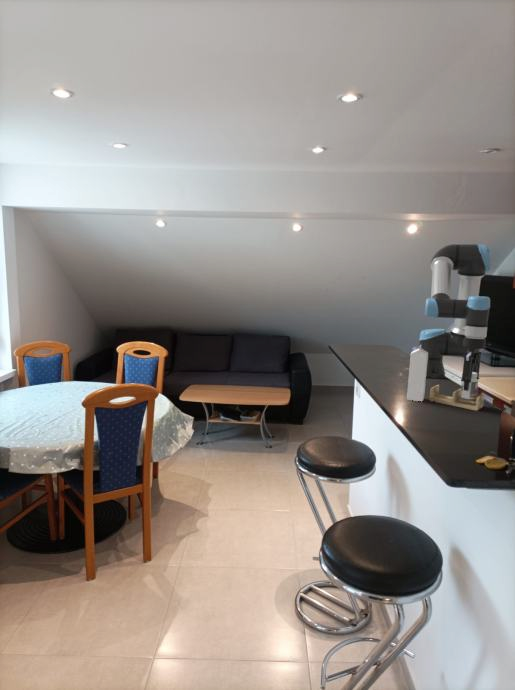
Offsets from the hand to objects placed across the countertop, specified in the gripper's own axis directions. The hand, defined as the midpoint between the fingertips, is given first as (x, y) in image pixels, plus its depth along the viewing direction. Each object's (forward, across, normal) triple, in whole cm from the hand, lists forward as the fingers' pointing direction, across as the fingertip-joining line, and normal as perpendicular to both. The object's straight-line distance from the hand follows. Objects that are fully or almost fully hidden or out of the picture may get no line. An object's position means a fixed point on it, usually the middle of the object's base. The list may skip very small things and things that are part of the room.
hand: (468, 396), depth 173 cm
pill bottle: (+1, 0, 0) cm, 1 cm away
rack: (+4, 0, -4) cm, 6 cm away
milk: (+4, +6, -18) cm, 19 cm away
